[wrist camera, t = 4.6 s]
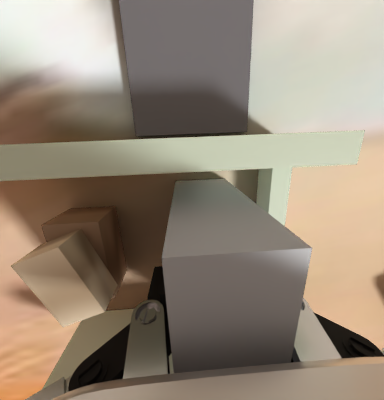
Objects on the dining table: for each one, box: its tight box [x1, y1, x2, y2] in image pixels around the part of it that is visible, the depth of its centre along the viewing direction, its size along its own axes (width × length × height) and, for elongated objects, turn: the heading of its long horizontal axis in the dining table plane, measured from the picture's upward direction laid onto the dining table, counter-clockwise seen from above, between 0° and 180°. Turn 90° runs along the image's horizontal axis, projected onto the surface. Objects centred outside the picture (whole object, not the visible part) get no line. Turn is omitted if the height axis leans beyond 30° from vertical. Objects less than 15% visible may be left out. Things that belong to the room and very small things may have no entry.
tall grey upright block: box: [162, 179, 312, 373], centre depth 10 cm, size 10×4×9 cm, turn 2°
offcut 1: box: [41, 206, 127, 298], centre depth 12 cm, size 6×3×3 cm, turn 3°
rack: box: [0, 130, 365, 389], centre depth 11 cm, size 15×16×6 cm
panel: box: [119, 0, 253, 136], centre depth 9 cm, size 13×7×1 cm, turn 2°
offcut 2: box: [11, 229, 117, 327], centre depth 10 cm, size 4×3×2 cm, turn 22°
